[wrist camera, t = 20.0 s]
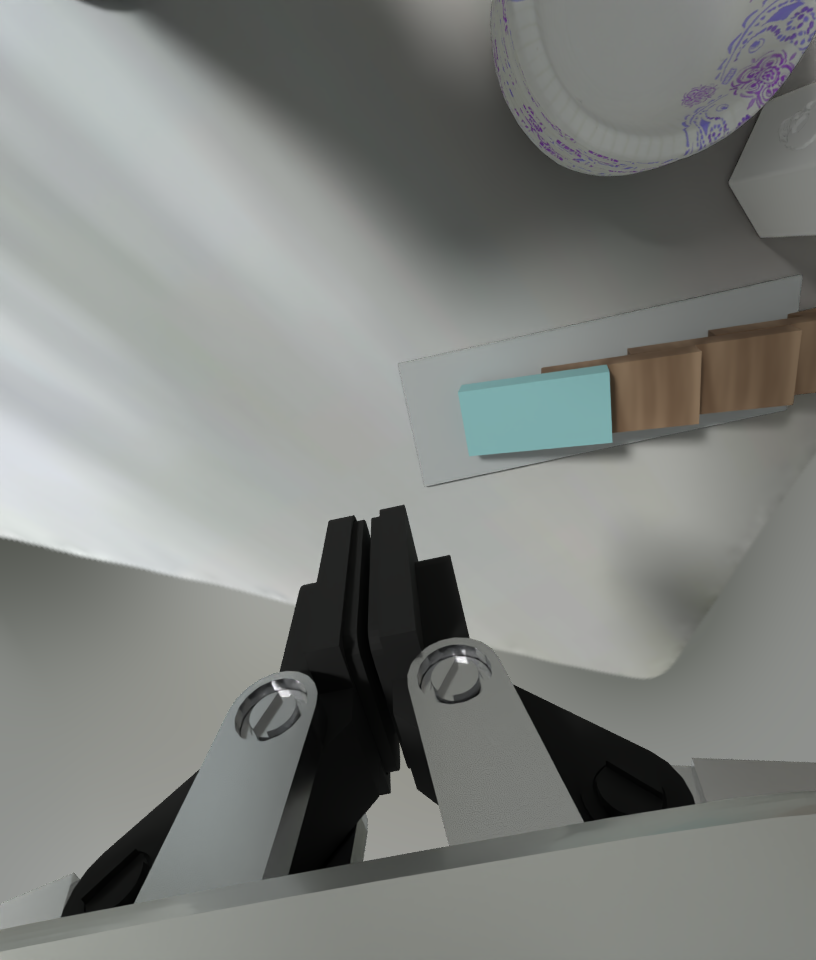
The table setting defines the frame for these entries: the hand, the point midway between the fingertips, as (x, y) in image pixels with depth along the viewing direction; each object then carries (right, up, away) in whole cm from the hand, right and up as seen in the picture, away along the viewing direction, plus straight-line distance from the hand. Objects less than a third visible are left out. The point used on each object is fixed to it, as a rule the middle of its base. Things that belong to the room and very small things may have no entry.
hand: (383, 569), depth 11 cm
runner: (+15, +9, +27) cm, 32 cm away
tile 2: (+11, +8, +26) cm, 29 cm away
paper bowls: (+12, +28, +18) cm, 36 cm away
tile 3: (+17, +9, +25) cm, 32 cm away
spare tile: (+5, +6, +26) cm, 27 cm away
